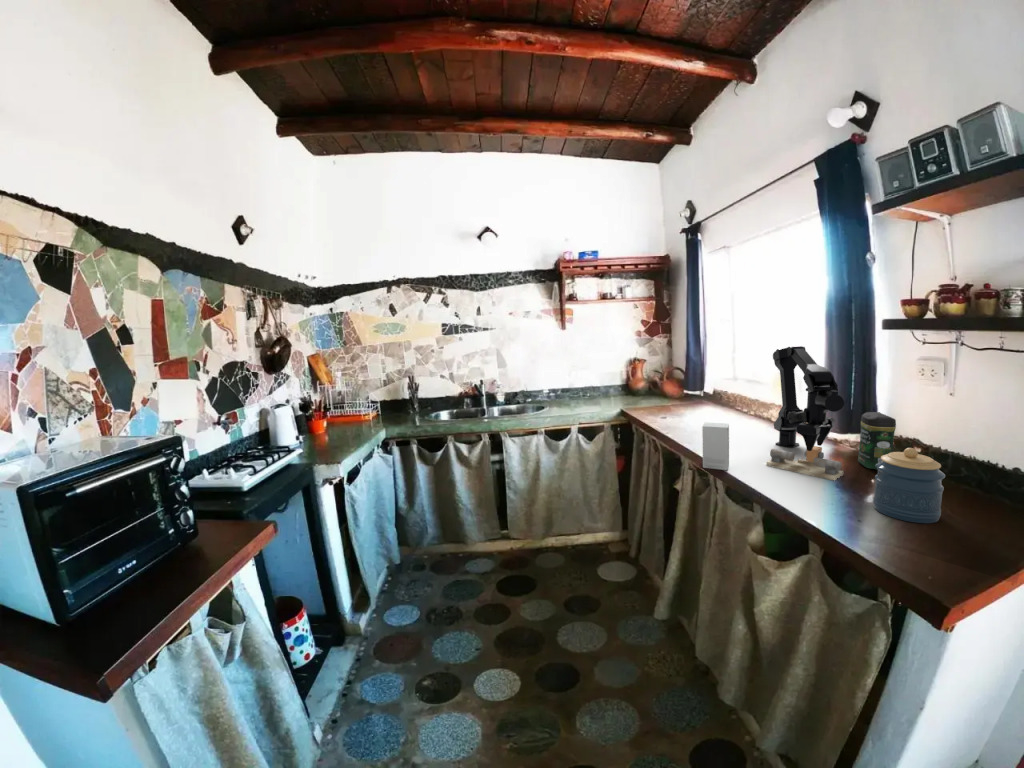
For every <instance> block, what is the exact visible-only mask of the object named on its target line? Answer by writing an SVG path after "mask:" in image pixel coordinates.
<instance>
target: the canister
mask: <svg viewBox="0 0 1024 768" xmlns="http://www.w3.org/2000/svg"><path fill="white" fill-rule="evenodd" d="M881 460H883V461H882V462H879V463H877V464H876V467H877V469H878V470H877V474H875V476H874V479H875V483H874V484H875V485H874V493H873V494H874V496H873V498H872V503H873V507H874V509H875V510H876V511H877V512H879V513H880V514H882V515H885V516H887V517H891V518H893V519H897V520H901V521H904V522H911V523H917V524H932V523H933V524H934V523H937V522H938V521H939V520H940V517H941V516H942V514H941V513H942V509H941V507H942V499H943V492H944V490H945V489H944V488H945V487H944V486H943V484H942V481H943V480H944V479H945V478H946V474H945V473H944V472H943V471H941V470H940V469H941V468H942V465H941V463H939V462H938V461H936V460H934V459H933V458H932V457H930V456H927V455H923V454H919V453H918V451H917V449H915V448H912V447H907V448H905V449H904V450H903V451H893V452H891V453H889V454H886V455H883V456H881Z"/></svg>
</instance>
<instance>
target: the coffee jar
mask: <svg viewBox="0 0 1024 768" xmlns="http://www.w3.org/2000/svg"><path fill="white" fill-rule="evenodd" d="M896 427H897V424H896V418H894V417H891V416H889V415H886V414H884V413H882V412H879V411H878V412H877V411H866V412H864V413H863V414H862V415H861V418H860V437H859V438H860V439H859V447H858V457H857V461H858V462H859V464H860V465H862V466H863V467H864V468H866V469H872V470H876V471H878V469H877V467H876V464H877V463H879V462H882V461H883V460H881V456H883V455H886V454H889V453H891V452H894V440H895V438H894V437H895V431H896Z"/></svg>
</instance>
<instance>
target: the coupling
mask: <svg viewBox="0 0 1024 768" xmlns="http://www.w3.org/2000/svg"><path fill="white" fill-rule="evenodd" d="M804 456H805V458H806V460H805V461H810V462H813V460H814V458H815V457H817V458H822V459H824V457H825V454H824V452H823V447H822V446H818V445H817V446H816V445H814V447H813V449H812V450H811V451H808V450H807V448H805V451H804Z"/></svg>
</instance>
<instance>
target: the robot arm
mask: <svg viewBox="0 0 1024 768" xmlns="http://www.w3.org/2000/svg"><path fill="white" fill-rule="evenodd" d="M772 360H773V363H774V365H775V367H776V368H777V370H778V371H779V375H780V388H781V403H782V404H781V405H782V407H781V408H780V409H779V410H778V411H779V412H778V415H777V418H776V420H775V421H774V423H773V429H774V430H775V431H778V434H779V436H778V441H777V442H775V444H774V445H776V446H782V447H788V448H791V449H792V448H795V447H798V446H799V445H800V443H799V442H797V434H798V435H801V436H802V438H803V441H804V444H805V447H806V448H805V449H807V450H808V451H811V450H812V449H813V447H814V446H816V443H817V446H818V447H822V445H823V444H824V442H825V441H826V439H827V437H828V436H829V435H830V433H831V431H832V430H833V429H834V427H835V425H836V420H835V418H834V417H829V416H827V415H828V414H827V413H828V412H833V413H835V412H839V411H840V410H842V409H843V408H844V406H845V400H844V398H843V397H842V396H841V395H839V389H838V387H839V386H838V384H837V381H836V379H835V377H834V374H833V373H832V372H831V371H830V370H829V369H828V368H826V366H825V367H824V366H821V365H819V364H818V363H817V362H816V361H815V360H814V359H813V357H812V356H811V354H809V353H808V351H806V347H805V346H804V345H790V346H787V347H784V348H777V349H776V350H775V351H773V353H772ZM797 366H798V368H800V370H801V371H802V373H803V377H802V378H803V380H804V383H805V385H806V388H805V391H806V392H807V399H806V400H807V401H806V402H807V403H806V407H804V409H801V408H800V407H799V405H798V403H797V389H796V377H795V375H796V374H795V368H796V367H797Z"/></svg>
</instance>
